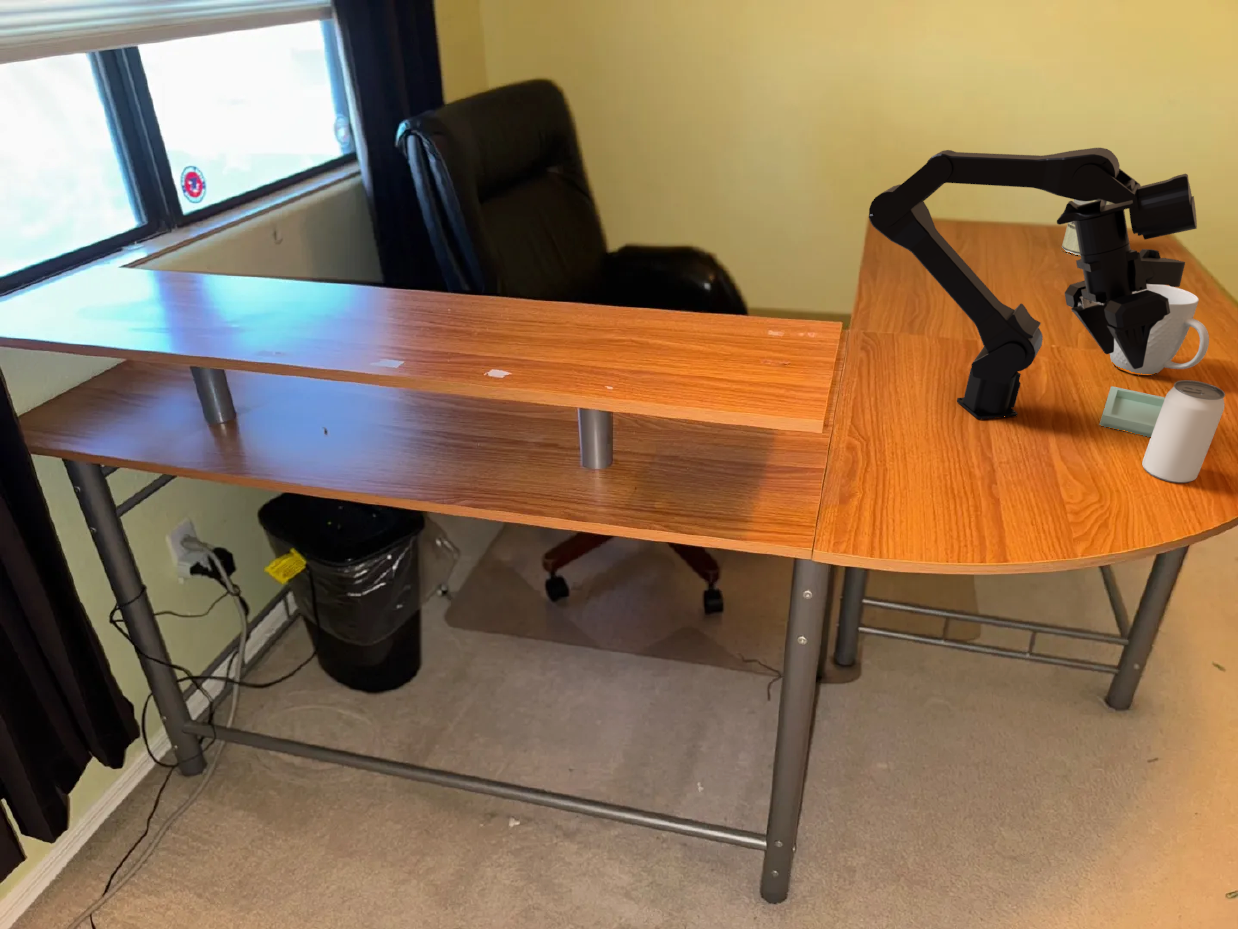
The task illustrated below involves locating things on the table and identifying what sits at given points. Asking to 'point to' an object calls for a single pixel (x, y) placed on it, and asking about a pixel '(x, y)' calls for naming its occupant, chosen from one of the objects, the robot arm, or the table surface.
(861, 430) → the table surface
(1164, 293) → the mug
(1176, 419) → the can
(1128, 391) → the tray
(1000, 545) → the table surface
